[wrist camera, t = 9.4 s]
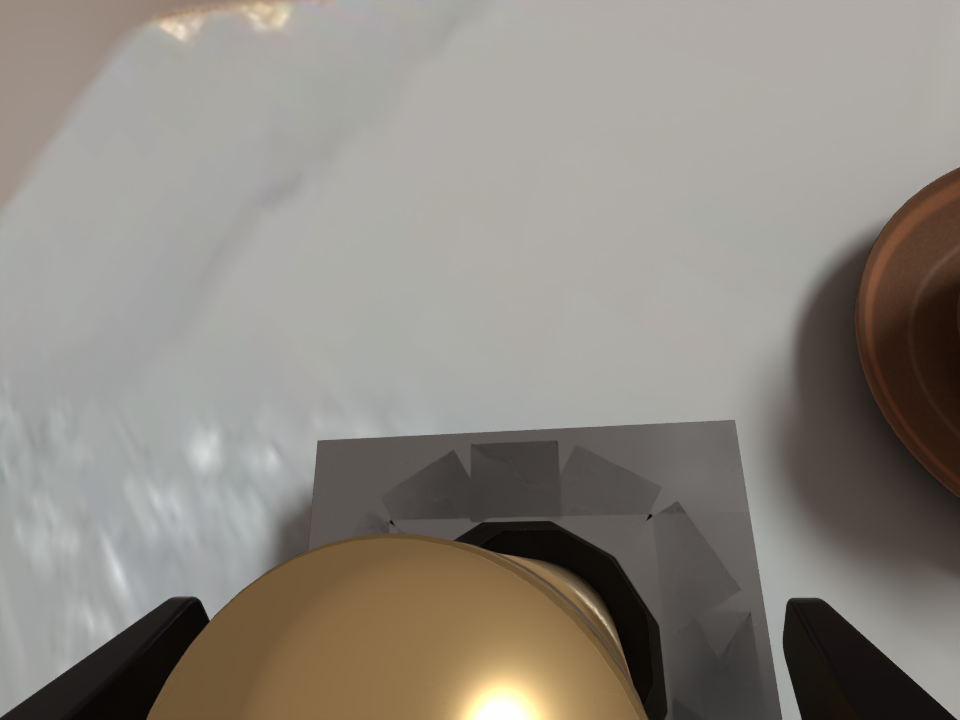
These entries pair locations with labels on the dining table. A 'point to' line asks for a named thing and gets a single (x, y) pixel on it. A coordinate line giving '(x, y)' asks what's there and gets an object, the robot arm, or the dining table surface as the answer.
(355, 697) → the gold metallic cylinder
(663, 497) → the block
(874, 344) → the cup and saucer
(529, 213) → the dining table surface
